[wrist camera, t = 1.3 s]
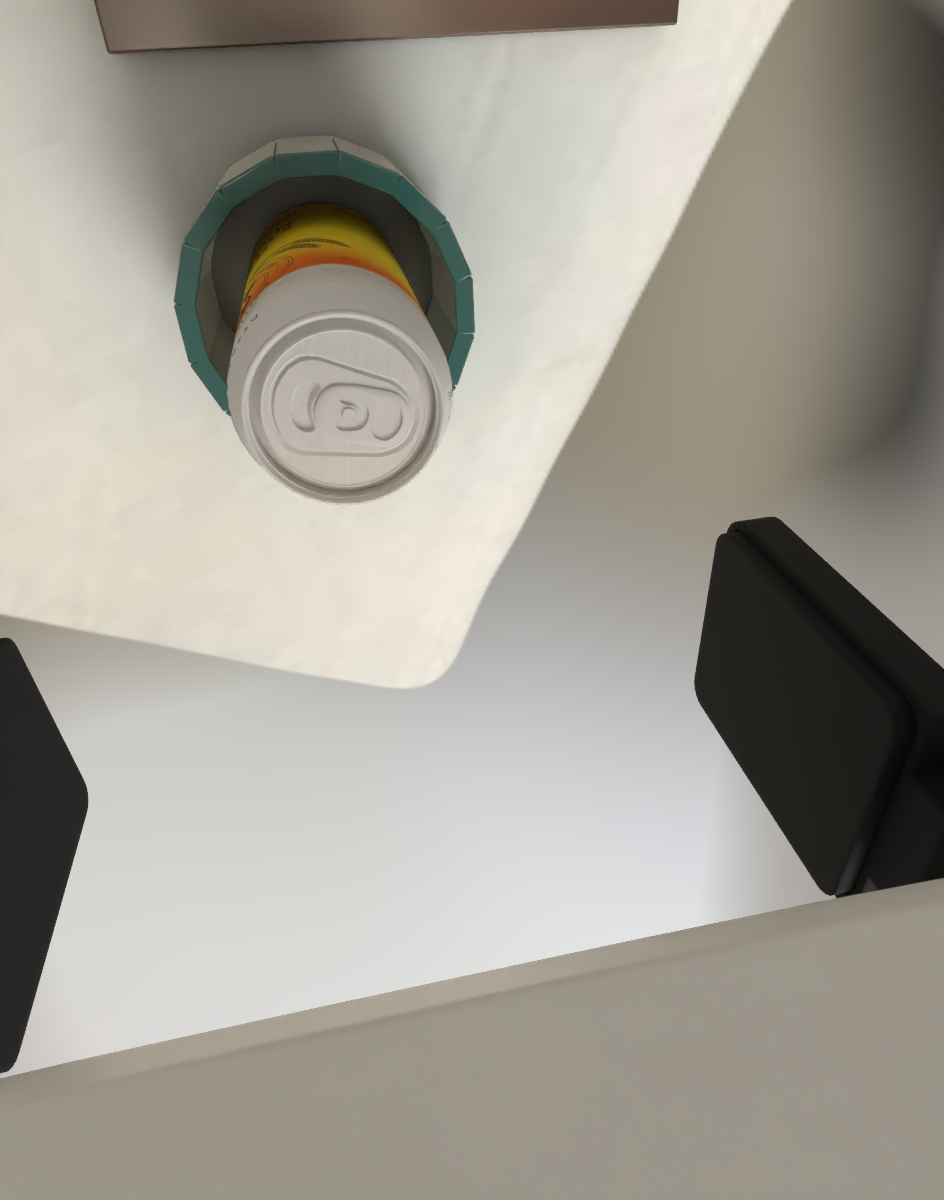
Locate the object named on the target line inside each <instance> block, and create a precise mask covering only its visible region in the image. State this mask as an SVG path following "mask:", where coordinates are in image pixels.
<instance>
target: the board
mask: <svg viewBox="0 0 944 1200" xmlns="http://www.w3.org/2000/svg"><path fill="white" fill-rule="evenodd" d="M94 2H95V6H96V10H97V14H98V18H99V21H100V25H101V29H102V33H103V37H104V40H105V44H106V48H107V51H108V53H110V54H129V53H148V52H167V51H187V50H206V49H225V48H244V47H264V46H283V45H302V44H322V43H341V42H360V41H379V40H399V39H418V38H437V37H457V36H476V35H495V34H515V33H534V32H553V31H572V30H592V29H611V28H630V27H650V26H666V25H675V24H676V23H677V15H678V4H679V0H94Z"/></svg>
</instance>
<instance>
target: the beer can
mask: <svg viewBox="0 0 944 1200" xmlns="http://www.w3.org/2000/svg"><path fill="white" fill-rule="evenodd" d="M227 398H228V406H229V411H230V415H231V419H232V422H233V424H234V427H235V429H236V432H237V434H238V436H239V438H240V440H241V441H242V443H243V445H244V446H245V448H246V449H247V451H248V452H249V454H250V455H251V456H252V457H253V458H254V459H255V461H256V462H257V463H258V464H259V465H260V466H261V467H262V468H263V469H265V470H266V471H267V472H268V473H269V474H270V475H271V476H272V477H273V478H274V479H275V480H277V481H278V482H279V483H281V484H282V485H283V486H285V487H286V488H288V489H290V490H291V491H293V492H295V493H297V494H299V495H301V496H303V497H306V498H309V499H312V500H314V501H318V502H323V503H328V504H336V505H353V504H362V503H367V502H371V501H375V500H378V499H381V498H384V497H386V496H388V495H391V494H392V493H394V492H396V491H398V490H400V489H401V488H403V487H404V486H405V485H407V484H408V483H410V482H411V481H412V480H413V479H414V478H415V477H416V476H417V475H418V474H419V473H420V472H421V471H422V470H423V469H424V467H425V466H426V465H427V463H428V462H429V461H430V459H431V457H432V455H433V454H434V452H435V451H436V449H437V447H438V446H439V444H440V442H441V440H442V438H443V436H444V433H445V431H446V429H447V425H448V422H449V418H450V413H451V408H452V380H451V375H450V369H449V366H448V363H447V360H446V356H445V354H444V352H443V350H442V347H441V345H440V343H439V341H438V339H437V337H436V335H435V334H434V332H433V330H432V328H431V326H430V324H429V322H428V320H427V318H426V316H425V314H424V312H423V310H422V308H421V306H420V304H419V302H418V300H417V298H416V297H415V295H414V293H413V291H412V289H411V287H410V285H409V283H408V281H407V279H406V277H405V275H404V273H403V271H402V269H401V267H400V265H399V263H398V261H397V260H396V258H395V256H394V254H393V252H392V250H391V248H390V246H389V244H388V243H387V241H386V239H385V238H384V237H383V235H382V234H381V233H380V232H379V231H378V229H377V228H376V227H375V226H374V225H373V224H371V223H370V222H369V221H368V220H367V219H365V218H364V217H362V216H361V215H359V214H358V213H356V212H354V211H352V210H350V209H347V208H345V207H342V206H338V205H334V204H326V203H312V204H305V205H301V206H298V207H295V208H293V209H290V210H288V211H286V212H285V213H283V214H281V215H280V216H278V217H277V218H276V219H275V220H273V221H272V222H271V223H270V224H269V225H268V227H267V228H266V229H265V230H264V232H263V233H262V234H261V236H260V238H259V239H258V241H257V243H256V246H255V248H254V251H253V254H252V258H251V262H250V267H249V272H248V276H247V281H246V286H245V291H244V296H243V301H242V306H241V311H240V316H239V320H238V325H237V330H236V335H235V340H234V345H233V350H232V355H231V360H230V365H229V370H228V378H227Z"/></svg>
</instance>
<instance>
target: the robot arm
mask: <svg viewBox="0 0 944 1200" xmlns="http://www.w3.org/2000/svg"><path fill="white" fill-rule="evenodd" d="M694 683H695V691H696V695H697V698H698V701H699V703H700V704H701V706H702V708H703V709H704V711H705V713H706V714H707V715H708V717H709V719H710V720H711V722H712V723H713V724H714V726H715V728H716V729H717V731H718V733H719V734H720V736H721V737H722V739H723V740H724V742H725V743H726V745H727V747H728V748H729V750H730V751H731V753H732V754H733V756H734V757H735V759H736V761H737V762H738V764H739V765H740V767H741V768H742V770H743V771H744V773H745V774H746V776H747V778H748V779H749V781H750V782H751V784H752V785H753V787H754V788H755V790H756V791H757V793H758V795H759V796H760V798H761V799H762V801H763V802H764V803H765V805H766V807H767V808H768V810H769V811H770V813H771V815H772V816H773V818H774V819H775V821H776V822H777V824H778V826H779V827H780V829H781V830H782V832H783V833H784V835H785V836H786V838H787V839H788V841H789V843H790V844H791V845H792V847H793V849H794V850H795V852H796V853H797V855H798V856H799V858H800V859H801V861H802V863H803V864H804V865H805V867H806V869H807V870H808V872H809V873H810V875H811V876H812V878H813V879H814V881H815V883H816V884H817V886H818V887H819V888H820V889H821V890H822V891H823V892H824V893H825V894H827V895H830V896H831V895H835V896H836V899H831V900H825V901H820V902H815V903H810V904H805V905H800V906H795V907H790V908H786V909H781V910H776V911H771V912H766V913H762V914H757V915H752V916H747V917H743V918H738V919H733V920H728V921H723V922H719V923H714V924H709V925H704V926H700V927H694V928H690V929H686V930H680V931H676V932H671V933H666V934H661V935H656V936H652V937H647V938H642V939H637V940H632V941H627V942H623V943H618V944H614V945H608V946H603V947H599V948H594V949H589V950H585V951H580V952H575V953H571V954H566V955H561V956H557V957H552V958H547V959H542V960H538V961H533V962H528V963H524V964H519V965H514V966H510V967H505V968H500V969H496V970H491V971H486V972H482V973H477V974H472V975H467V976H463V977H458V978H454V979H450V980H445V981H439V982H435V983H430V984H426V985H421V986H417V987H412V988H407V989H402V990H398V991H393V992H388V993H384V994H379V995H375V996H370V997H366V998H360V999H356V1000H351V1001H346V1002H342V1003H337V1004H333V1005H328V1006H324V1007H319V1008H314V1009H310V1010H305V1011H300V1012H296V1013H292V1014H287V1015H282V1016H278V1017H273V1018H269V1019H264V1020H260V1021H255V1022H251V1023H246V1024H241V1025H237V1026H232V1027H228V1028H224V1029H219V1030H214V1031H209V1032H205V1033H200V1034H196V1035H191V1036H187V1037H183V1038H177V1039H173V1040H168V1041H164V1042H159V1043H155V1044H150V1045H146V1046H141V1047H136V1048H132V1049H127V1050H123V1051H119V1052H114V1053H109V1054H105V1055H100V1056H95V1057H91V1058H86V1059H82V1060H78V1061H73V1062H68V1063H64V1064H60V1065H56V1066H51V1067H47V1068H43V1069H39V1070H34V1071H30V1072H26V1073H22V1074H18V1075H13V1076H9V1077H5V1078H1V1079H0V1200H944V669H943V668H942V667H941V666H940V665H939V664H938V663H937V662H935V661H934V660H933V659H932V658H931V657H930V656H929V655H928V654H927V653H926V652H925V651H923V650H922V649H921V648H920V647H919V646H918V645H917V644H916V643H915V642H914V641H912V640H911V639H910V638H909V637H908V636H907V635H906V634H905V633H904V632H903V631H902V630H900V629H899V628H898V627H897V626H896V625H895V624H894V623H893V622H892V621H891V620H889V619H888V618H887V617H886V616H885V615H884V614H883V613H882V612H881V611H880V610H878V609H877V608H876V607H875V606H874V605H873V604H872V603H871V602H870V601H869V600H868V599H866V598H865V597H864V596H863V595H862V594H861V593H860V592H859V591H858V590H857V589H856V588H854V587H853V586H852V585H851V584H850V583H849V582H848V581H847V580H846V579H845V578H843V577H842V576H841V575H840V574H839V573H838V572H837V571H836V570H835V569H833V568H832V567H831V566H830V565H829V564H828V563H827V562H826V561H825V560H824V559H823V558H822V557H820V556H819V555H818V554H817V553H816V552H815V551H814V550H813V549H812V548H811V547H809V546H808V545H807V544H806V543H805V542H804V541H803V540H802V539H801V538H799V537H798V536H797V535H796V534H795V533H794V532H793V531H792V530H791V529H790V528H789V527H788V526H786V525H785V524H784V523H783V522H782V521H781V520H780V519H778V518H776V517H765V518H758V519H752V520H745V521H738V522H734V523H732V524H731V525H730V527H729V528H728V530H727V533H725V534H722V535H720V536H719V538H718V539H717V542H716V547H715V553H714V559H713V566H712V572H711V578H710V585H709V591H708V597H707V603H706V610H705V617H704V622H703V629H702V635H701V642H700V647H699V654H698V660H697V666H696V672H695V681H694ZM87 809H88V792H87V787H86V784H85V782H84V780H83V777H82V775H81V773H80V771H79V769H78V767H77V765H76V763H75V761H74V759H73V758H72V755H71V753H70V752H69V749H68V748H67V745H66V743H65V741H64V740H63V738H62V736H61V734H60V732H59V730H58V728H57V726H56V724H55V722H54V720H53V718H52V716H51V714H50V712H49V710H48V708H47V706H46V704H45V702H44V700H43V698H42V696H41V694H40V692H39V690H38V688H37V686H36V684H35V682H34V680H33V678H32V676H31V674H30V672H29V670H28V668H27V666H26V664H25V662H24V660H23V658H22V656H21V654H20V652H19V650H18V648H17V646H16V644H15V643H14V642H13V641H12V640H11V639H9V638H1V639H0V1073H3V1072H7V1071H9V1070H10V1069H11V1068H12V1067H13V1065H14V1063H15V1062H16V1060H17V1057H18V1054H19V1051H20V1048H21V1044H22V1041H23V1037H24V1034H25V1030H26V1027H27V1023H28V1019H29V1015H30V1012H31V1009H32V1005H33V1002H34V998H35V994H36V991H37V987H38V984H39V980H40V977H41V973H42V970H43V966H44V963H45V959H46V956H47V952H48V949H49V945H50V941H51V938H52V934H53V931H54V927H55V924H56V920H57V916H58V913H59V910H60V906H61V902H62V898H63V895H64V892H65V888H66V885H67V881H68V878H69V874H70V871H71V866H72V863H73V860H74V856H75V853H76V849H77V846H78V842H79V839H80V835H81V832H82V828H83V824H84V821H85V817H86V814H87Z"/></svg>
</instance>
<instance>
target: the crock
mask: <svg viewBox="0 0 944 1200" xmlns="http://www.w3.org/2000/svg"><path fill="white" fill-rule="evenodd" d="M332 175H339V176H342V177H344V178H347V179H350V180H352V181H355V182H358V183H361V184H363V185H366V186H369V187H371V188H374V189H377V190H379V191H382V192H385V193H387V194H390V195H392V196H393V197H394V198H395V199H396V200H397V201H398V202H399V203H400V204H401V205H402V206H403V207H404V208H405V209H406V210H407V211H408V212H410V213H411V214H412V215H413V216H414V217H415V218H416V220H417V222H418V224H419V226H420V228H421V231H422V233H423V235H424V237H425V239H426V241H427V243H428V246H429V248H430V256H431V270H432V284H433V296H432V299H431V302H430V306H429V309H428V312H427V315H426V318H427V320H428V322H429V324H430V326H431V328H432V330H433V332H434V334H435V335H436V337H437V339H438V341H439V343H440V345H441V347H442V350H443V352H444V354H445V356H446V360H447V363H448V366H449V369H450V375H451V380H452V392H453V391H454V390H455V388H456V387H455V385H457V384H458V382H459V379H460V376H461V373H462V370H463V368H464V365H465V362H466V359H467V356H468V353H469V350H470V347H471V344H472V342H473V339H474V335H473V333H475V322H474V297H473V279H472V277H471V271H470V269H469V267H468V264H467V262H466V260H465V257H464V255H463V253H462V251H461V248H460V246H459V244H458V242H457V239H456V237H455V235H454V233H453V230H452V228H451V226H450V223H449V222H448V221H447V220H446V217H445V216H444V215H443V214H442V213H441V212H440V211H439V210H438V209H437V208H436V207H435V206H434V204H433V203H432V202H431V201H430V200H429V199H428V198H427V197H426V196H425V195H424V194H423V193H422V192H421V191H420V190H419V189H418V188H417V187H416V186H415V185H414V184H413V183H412V182H411V181H410V180H409V179H408V178H407V177H406V176H405V175H404V174H403V173H402V172H401V171H400V170H399V169H397V168H396V167H395V166H394V165H393V164H392V163H391V162H390V161H389V160H388V159H387V158H386V157H384V156H383V155H382V154H380V153H377V152H375V151H372V150H369V149H367V148H364V147H362V146H359V145H357V144H354V143H352V142H349V141H346V140H344V139H341V138H339V137H336V136H332V138H331V136H330V135H319V136H304V137H290V138H279V139H278V141H276V140H273V141H271V142H269V143H268V144H266V145H264V146H263V147H261V148H259V149H258V150H256V151H254V152H252V153H251V154H249V155H247V156H246V157H244V158H242V159H241V160H239V161H237V162H236V163H234V164H232V165H231V167H230V168H228V169H227V171H226V172H225V174H224V175H223V177H222V178H221V180H220V181H219V183H218V185H217V186H216V188H215V189H214V191H213V192H212V194H211V195H210V197H209V198H208V200H207V201H206V203H205V205H204V206H203V208H202V209H201V211H200V212H199V214H198V216H197V217H196V219H195V221H194V223H193V224H192V226H191V228H190V229H189V231H188V233H187V234H186V236H185V238H184V242H183V243H182V247H181V254H180V261H179V268H178V275H177V282H176V289H175V296H174V303H175V305H174V308H175V312H176V316H177V320H178V323H179V327H180V331H181V335H182V338H183V342H184V346H185V350H186V354H187V357H188V361H189V363H191V367H192V369H193V370H194V371H195V373H196V374H197V376H198V377H199V378H200V380H201V381H202V382H203V384H204V385H205V387H206V388H207V389H208V391H209V392H210V393H211V395H212V396H213V398H214V399H215V400H216V402H217V403H218V404H219V406H220V407H221V409H222V410H223V411H226V413H227V414H228V415H229V416H231V415H230V411H229V406H228V398H227V378H228V370H229V365H230V360H231V355H232V350H233V345H234V340H235V334H234V333H233V331H232V330H231V328H230V327H229V325H228V324H227V322H226V321H225V319H224V318H223V316H222V315H221V312H220V308H219V304H218V299H217V295H216V291H215V286H214V282H213V278H212V273H211V269H210V267H211V261H212V254H213V248H214V242H215V236H216V234H217V232H218V231H219V229H220V228H221V226H222V225H223V223H224V222H225V220H226V219H227V217H228V216H229V214H230V213H231V211H232V210H233V208H234V207H235V206H237V205H238V204H240V203H242V202H244V201H245V200H247V199H249V198H250V197H252V196H254V195H256V194H257V193H259V192H261V191H262V190H264V189H266V188H268V187H269V186H271V185H273V184H274V183H276V182H278V181H280V180H281V179H291V178H305V177H318V176H332Z"/></svg>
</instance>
